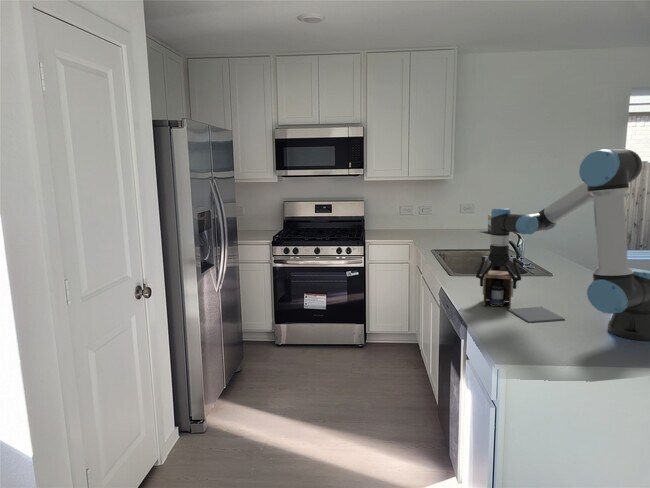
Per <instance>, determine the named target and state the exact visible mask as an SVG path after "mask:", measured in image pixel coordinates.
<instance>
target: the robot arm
mask: <svg viewBox="0 0 650 488" xmlns="http://www.w3.org/2000/svg"><path fill="white" fill-rule="evenodd" d="M642 169H643V161H642V158H641V157H640V155H639V154H638V153H637V152H635V151H633V150H631V149H627V148H620V149H618V148H617V149H616V148H603V149H598V150H594V151H592V152H590V153H588V154H587V155H586V156H585V157H584V159H582V161H581V163H580V165H579V169H578V172H579V173H578V174H579V178H580V180H581V181H582V183H581V184H579V185H577V186H576V187H575V188H573V189H571V190H570V191H568V192H567V193H565V194H564V195H562V196H561V197H559V198H558V199H556V200H555V201H553V202H552V203H550V204H548V205H547V206H546V207H544V208H543V209H541V210H539V211H538V212H534V213H533V212H532V213H525V214H519V213H518V214H517V213H511V209H510V208H508V207H493V208H492V209H491V213H490V214H491V232H489V233H490V235H489V236H490V237H489V243H490V245H489V255H482V256H481V262H480V265H479V267H478V269H477V271H476V274H475V278H477V279H479V286H480V287H482V293H481V294H482V295H483V296H484V275H485V274H487V273H488V272H489V270H490V271H491V269H492V267H493V266H494V267H501V268H502V267H504V268H505V270H506V271H508V273H509V275H512V282H511V298H512V297H514V290H516V289H517V282H518V281H522V277H521V273H520V270H519V267H518V264H517V256H513V257H512V256H510V255H509V252H510V245H509V244H510V233H514V234H520V235H533V234H535V233H536V232H541V231H549V230H551V229H554V228H555V227H556V226H557V224H558V222H560V221H562V220H564V219H566V218H567V217H569V216H570V215H572V214H573V213H575V212H577V211H579V210H580V209H582V208H584V207H585V206H587V205H589V204H591V203H592V202H593V213H594V214H593V217H594V230H595V245H596V261H597V267H596V268H595V269H594V270H593V272H592V280H593V281H592V282H591V283H590V285H588V287H587V289H586V297H587V299H588V301H589V302H590V305H591V306H592V307H594V309H596V310H597V311H598V312H601V313H603V314H607V315H609V314H612V315H611V317H610V320H609V321H608V322H607V331H608V332H609V333H611V334H613V335H614V336H618V337H621V338H624V339H629V340H634V341H635V340H636V341H644V342H645V341H650V270H647V269H642V268H641V269H639V268H633V267H629V264H628V248H627V246H628V244H627V232H626V231H627V230H626V227H627V226H626V213H625V193H626V192H627V191H628V190H629V189H630V187H629V184H630V183H632V182H633V181H635V180H637V178H638V177H639V175H640V174H641V171H642ZM488 260H489V261H490V263H489V265H488V266H487V267H486V268H485V270H484V271H483V273H482V274H481V272H482V270H483V269H484V268H483V267H484V265H485V262H486V261H488ZM509 261H511V263H512V264H513V268H514V271H515V273H516V274H514V272H513V271H512V270H511V268H510V266H509V265H508V262H509ZM515 275H516V276H515Z"/></svg>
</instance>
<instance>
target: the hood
mask: <svg viewBox="0 0 650 488" xmlns="http://www.w3.org/2000/svg"><path fill="white" fill-rule="evenodd" d="M495 278H497V279H503V280H504V283H503V285H504V286H505V300H504V302H508V309H511V305H512V304H511V301H512V297H511V282H512V280H513V279H512V275H509V273H508V271H507V270H506V271H504V270H503V271H502V270H491V269H490V270H489V272H488V273H487V274H485V275H484V295H483V301H482V302H483V304H482V305H483V307H485V306H486V302H487V300H488V301H489V299H490V285H491V284H492V279H495Z"/></svg>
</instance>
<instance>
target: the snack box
mask: <svg viewBox="0 0 650 488" xmlns="http://www.w3.org/2000/svg"><path fill="white" fill-rule="evenodd" d="M487 232H488V233H491V213H490V214H487Z"/></svg>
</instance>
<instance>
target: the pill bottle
mask: <svg viewBox="0 0 650 488" xmlns="http://www.w3.org/2000/svg"><path fill="white" fill-rule="evenodd" d="M503 283H504V280H503V279H497V278H495V279H492V284H491V285H490V299H489V300H488V302H489V304H490V305H491V306H493V307H503V306H504V305H505V301H504V300H505V286H504V285H503Z"/></svg>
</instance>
